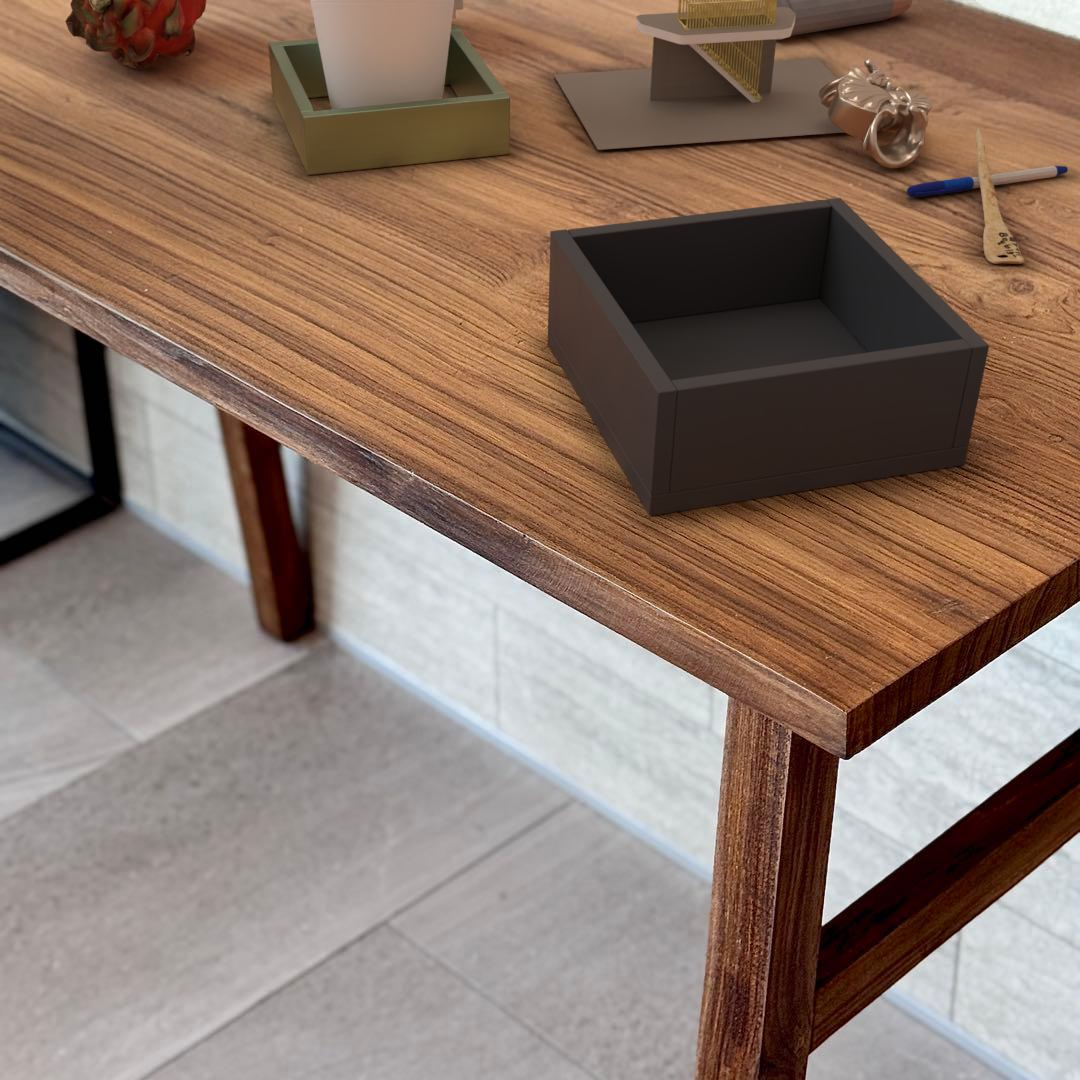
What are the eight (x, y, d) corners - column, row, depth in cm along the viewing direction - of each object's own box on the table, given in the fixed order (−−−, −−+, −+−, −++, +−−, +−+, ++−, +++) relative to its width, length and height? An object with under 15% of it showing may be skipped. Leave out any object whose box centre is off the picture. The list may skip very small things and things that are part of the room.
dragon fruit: (119, 119, 105) (150, 75, 115) (222, 37, 103) (245, 0, 113) (23, 5, 101) (64, -29, 112) (128, -81, 99) (160, -108, 110)
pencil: (781, 48, 113) (791, 8, 111) (757, 27, 115) (767, -14, 113) (911, 27, 118) (923, -13, 116) (886, 7, 120) (897, -33, 118)
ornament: (950, 173, 99) (977, 120, 97) (857, 174, 96) (882, 118, 94) (882, 100, 104) (905, 47, 102) (791, 98, 101) (813, 44, 98)
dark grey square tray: (649, 516, 69) (658, 392, 66) (547, 344, 80) (550, 230, 77) (965, 465, 73) (990, 345, 69) (825, 307, 84) (840, 196, 80)
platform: (885, 129, 102) (901, 22, 98) (597, 149, 98) (602, 40, 94) (817, 58, 111) (830, -42, 107) (553, 74, 108) (556, -28, 104)
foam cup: (283, 143, 99) (266, -83, 91) (344, 87, 106) (333, -127, 98) (434, 166, 97) (430, -63, 89) (486, 107, 104) (486, -110, 96)
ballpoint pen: (903, 198, 95) (912, 205, 94) (905, 183, 94) (914, 191, 93) (1061, 171, 98) (1071, 178, 97) (1064, 157, 97) (1074, 164, 96)
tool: (996, 133, 98) (962, 132, 98) (999, 122, 97) (964, 121, 97) (1023, 273, 88) (984, 272, 88) (1025, 262, 88) (987, 260, 88)
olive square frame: (307, 175, 95) (303, 117, 93) (272, 96, 104) (268, 41, 102) (509, 154, 98) (510, 97, 96) (458, 79, 107) (458, 25, 105)
